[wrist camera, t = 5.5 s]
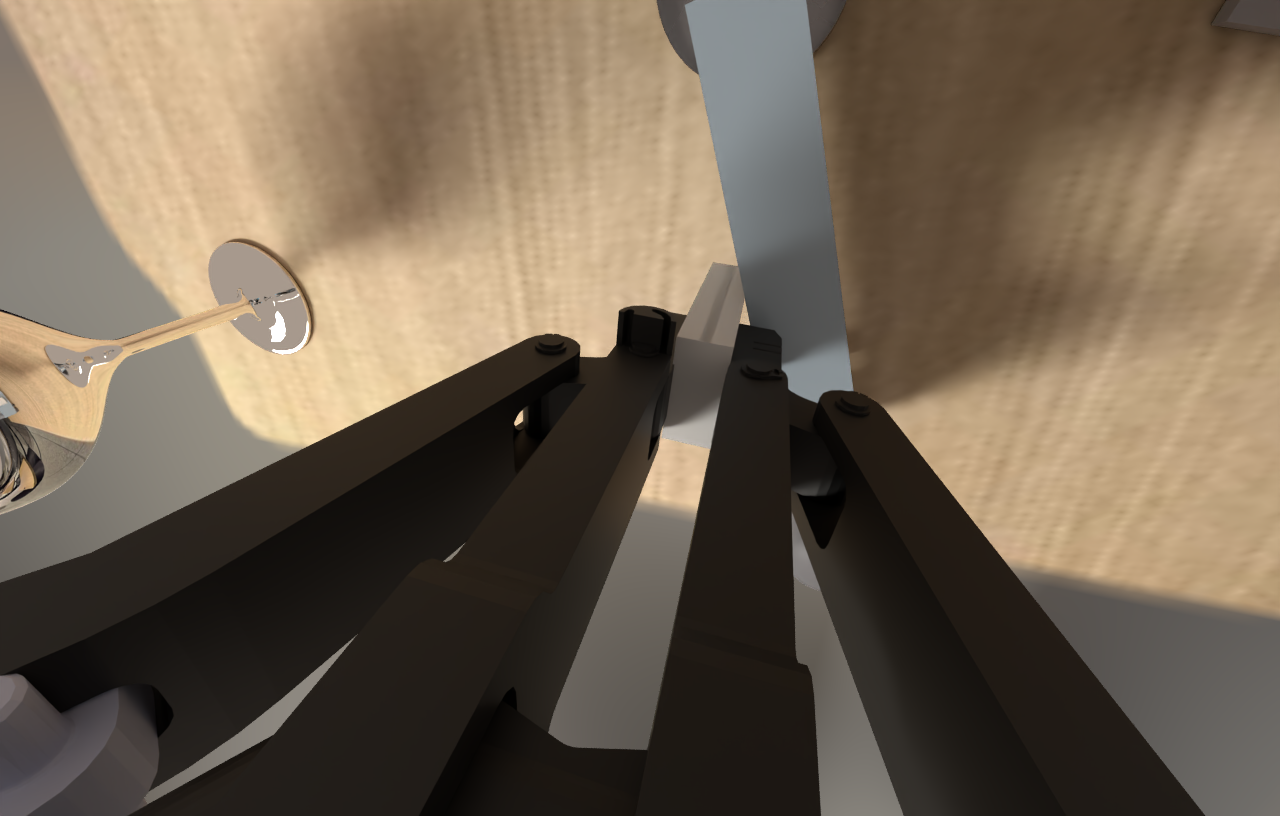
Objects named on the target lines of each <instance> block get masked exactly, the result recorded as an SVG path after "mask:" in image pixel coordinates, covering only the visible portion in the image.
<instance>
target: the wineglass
mask: <svg viewBox="0 0 1280 816" xmlns="http://www.w3.org/2000/svg"><path fill="white" fill-rule="evenodd" d="M209 280H210V284H211V288H212V291H213V293H214V296H215V298H216V300H217V302H218V304H219V306H218V307H215V308H213V309H210V310H207V311H204V312H201V313H198V314H195V315H192V316H189V317H186V318H183V319H180V320H176V321H173V322H170V323H167V324H164V325H161V326H158V327H155V328H151V329H148V330H145V331H142V332H139V333H135V334H132V335H129V336H126V337H122V338H119V339H116V340H98V339H91V338H85V337H81V336H77V335H73V334H70V333H67V332H64V331H61V330H58V329H55V328H52V327H49V326H47V325H44V324H41V323H39V322H36V321H33V320H31V319H28V318H25V317H22V316H19V315H17V314H14V313H11V312H8V311H5V310H2V309H0V515H1V514H4V513H7V512H9V511H12V510H15V509H17V508H20V507H22V506H25V505H27V504H29V503H31V502H34V501H36V500H38V499H40V498H42V497H44V496H46V495H47V494H49V493H51V492H53V491H54V490H56V489H57V488H59V487H60V486H62V485H63V484H64V483H65V482H67V481H68V480H69V479H70V478H71V477H72V476H73V475H74V474H75V473H76V472H77V471H78V470H79V469H80V467H81V466H82V465H83V464H84V462H85V461H86V460H87V458H88V457H89V455H90V454H91V452H92V450H93V448H94V446H95V444H96V442H97V439H98V437H99V434H100V431H101V428H102V424H103V419H104V414H105V407H106V401H107V395H108V389H109V385H110V381H111V378H112V376H113V374H114V371H115V370H116V368H117V367H118V365H119V364H120V363H121V362H122V361H123V360H124V359H125V358H126V357H128V356H131V355H133V354H136V353H138V352H141V351H144V350H146V349H150V348H152V347H155V346H158V345H161V344H164V343H166V342H169V341H172V340H175V339H178V338H180V337H183V336H186V335H189V334H192V333H195V332H198V331H200V330H203V329H206V328H209V327H212V326H215V325H218V324H221V323H224V322H228V321H230V322H231V323H232V324H233V326H234V327H235V328H236V329H237V330H238V331H239V332H240V333H241V334H242V335H243V336H245V337H246V338H247V339H248V340H250V341H251V342H252V343H254V344H255V345H257V346H259V347H260V348H262V349H264V350H267V351H269V352H272V353H276V354H292V353H295V352H297V351H299V350H301V349H302V348H303V347H304V346H305V345H306V344H307V342H308V340H309V338H310V335H311V316H310V311H309V308H308V305H307V302H306V300H305V298H304V295H303V293H302V291H301V290H300V288H299V286H298V285H297V283H296V282H295V280H294V279H293V277H292V276H291V275H290V274H289V272H288V271H287V270H286V269H285V268H284V267H283V266H282V265H281V264H280V263H279V262H278V261H277V260H276V259H274V258H273V257H272V256H271V255H269V254H268V253H266V252H265V251H263V250H261V249H260V248H258V247H255V246H253V245H250V244H247V243H243V242H229V243H225V244H222V245H220V246H219V247H217V248H216V249H215V250H214V252H213V253H212V255H211V257H210V261H209Z"/></svg>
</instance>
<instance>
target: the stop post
mask: <svg viewBox="0 0 1280 816" xmlns="http://www.w3.org/2000/svg"><path fill="white" fill-rule="evenodd" d="M1211 25H1214V26H1220V27H1227V28H1233V29H1239V30H1245V31H1252V32H1258V33H1264V34H1271V35H1277V36H1280V0H1226V2H1225V3H1224V5H1223V6H1222V8H1221V9H1220V11H1219V13H1218V14H1217V16H1216V17H1215V19H1214V21H1213V22H1212V24H1211Z"/></svg>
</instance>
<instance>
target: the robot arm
mask: <svg viewBox="0 0 1280 816" xmlns="http://www.w3.org/2000/svg"><path fill="white" fill-rule="evenodd" d="M744 299H745V296H744V292H743V287H742V282H741V277H740V272H739V267H738V266H733V265H727V264H721V263H715V262H713V264H712V266H711V268H710V270H709V272H708V274H707V276H706V278H705V280H704V282H703V284H702V286H701V288H700V290H699V292H698V294H697V296H696V298H695V300H694V302H693V304H692V306H691V308H690V310H689V312H688V315H682V314H677V313H671V312H668V311H666V310H664V309H660V308H657V307H651V306H630V307H626V308H623V309H621V310H620V311H619V317H618V329H617V342H616V346H615V347H614V348H613V350H612V351H611V352H610V354H609V355H608V356H607V357H597V358H594V357H580V345H579V344H578V343H577V342H576V341H575V340H573V339H571V338H568V337H564V336H561V335H559V334H554V335H553V334H545V335H539V336H534V337H531V338H528V339H526V340H524V341H522V342H520V343H518V344H516V345H514V346H512V347H510V348H508V349H506V350H504V351H502V352H500V353H497V354H495V355H493V356H491V357H489V358H487V359H485V360H483V361H481V362H479V363H477V364H475V365H473V366H471V367H469V368H467V369H465V370H463V371H461V372H459V373H457V374H455V375H453V376H451V377H449V378H447V379H444V380H442V381H440V382H438V383H436V384H434V385H432V386H430V387H428V388H426V389H424V390H422V391H420V392H418V393H416V394H414V395H412V396H410V397H408V398H406V399H404V400H402V401H400V402H398V403H396V404H393V405H391V406H389V407H387V408H385V409H383V410H381V411H379V412H377V413H375V414H373V415H371V416H369V417H367V418H365V419H363V420H361V421H359V422H357V423H355V424H353V425H351V426H349V427H347V428H345V429H343V430H340V431H338V432H336V433H334V434H332V435H330V436H328V437H326V438H324V439H322V440H320V441H318V442H316V443H314V444H312V445H310V446H308V447H306V448H304V449H302V450H300V451H298V452H296V453H294V454H292V455H290V456H287V457H286V458H284V459H281V460H279V461H277V462H275V463H273V464H271V465H269V466H267V467H265V468H263V469H261V470H259V471H257V472H255V473H253V474H251V475H249V476H247V477H245V478H243V479H241V480H238V481H236V482H235V483H233V484H230V485H229V486H226V487H224V488H222V489H220V490H218V491H216V492H214V493H212V494H210V495H208V496H206V497H204V498H202V499H200V500H198V501H196V502H194V503H192V504H190V505H188V506H185V507H183V508H181V509H179V510H177V511H175V512H173V513H171V514H169V515H167V516H165V517H163V518H161V519H159V520H157V521H155V522H153V523H151V524H149V525H147V526H145V527H143V528H141V529H139V530H137V531H134V532H133V533H130V534H128V535H126V536H124V537H122V538H120V539H118V540H117V541H114V542H112V543H110V544H108V545H106V546H104V547H102V548H100V549H98V550H96V551H94V552H92V553H89V554H86V555H83V556H80V557H77V558H74V559H71V560H69V561H65V562H62V563H59V564H56V565H53V566H50V567H47V568H44V569H41V570H38V571H35V572H31V573H28V574H25V575H22V576H19V577H16V578H13V579H10V580H7V581H5V582H1V583H0V816H821V809H820V791H819V774H818V757H817V739H816V723H815V722H816V721H815V704H814V692H813V684H812V676H811V674H810V671H809V669H808V666H807V665H803V664H800V663H798V661H797V658H796V650H795V614H794V579H793V542H792V514H793V516H794V519H795V522H796V524H797V527H798V530H799V533H800V535H801V538H802V541H803V543H804V546H805V549H806V552H807V554H808V557H809V560H810V562H811V565H812V568H813V570H814V573H815V576H816V579H817V581H818V584H819V587H820V589H821V592H822V595H823V598H824V600H825V603H826V606H827V608H828V611H829V614H830V617H831V619H832V622H833V625H834V627H835V630H836V633H837V635H838V638H839V641H840V644H841V646H842V649H843V652H844V654H845V657H846V660H847V663H848V665H849V668H850V671H851V674H852V676H853V679H854V682H855V684H856V687H857V690H858V693H859V695H860V698H861V701H862V703H863V706H864V709H865V712H866V714H867V717H868V720H869V722H870V725H871V728H872V731H873V733H874V736H875V739H876V741H877V744H878V747H879V750H880V752H881V755H882V758H883V760H884V763H885V766H886V768H887V771H888V774H889V776H890V779H891V782H892V785H893V788H894V790H895V793H896V796H897V798H898V801H899V804H900V806H901V809H902V812H903V815H904V816H1205V815H1204V814H1203V812H1202V811H1201V810H1200V809H1199V807H1198V806H1197V805H1196V803H1195V802H1194V801H1193V799H1192V798H1191V797H1190V796H1189V794H1188V793H1187V792H1186V791H1185V789H1184V788H1183V787H1182V786H1181V784H1180V783H1179V782H1178V780H1177V779H1176V778H1175V777H1174V775H1173V774H1172V773H1171V772H1170V770H1169V769H1168V768H1167V767H1166V765H1165V764H1164V763H1163V761H1162V760H1161V759H1160V758H1159V756H1158V755H1157V754H1156V753H1155V751H1154V750H1153V749H1152V748H1151V746H1150V745H1149V744H1148V743H1147V741H1146V740H1145V739H1144V737H1143V736H1142V735H1141V734H1140V732H1139V731H1138V730H1137V728H1136V727H1135V726H1134V725H1133V724H1132V722H1131V721H1130V720H1129V718H1128V717H1127V716H1126V715H1125V713H1124V712H1123V711H1122V709H1121V708H1120V707H1119V706H1118V704H1117V703H1116V702H1115V701H1114V699H1113V698H1112V697H1111V696H1110V694H1109V693H1108V692H1107V690H1106V689H1105V688H1104V687H1103V685H1102V684H1101V683H1100V682H1099V680H1098V679H1097V678H1096V677H1095V675H1094V674H1093V673H1092V671H1091V670H1090V669H1089V668H1088V666H1087V665H1086V664H1085V663H1084V661H1083V660H1082V659H1081V657H1080V656H1079V655H1078V654H1077V652H1076V651H1075V650H1074V649H1073V647H1072V646H1071V645H1070V644H1069V643H1068V641H1067V640H1066V638H1065V637H1064V636H1063V635H1062V634H1061V632H1060V631H1059V630H1058V628H1057V627H1056V626H1055V625H1054V623H1053V622H1052V621H1051V619H1050V618H1049V617H1048V616H1047V614H1046V613H1045V612H1044V611H1043V609H1042V608H1041V607H1040V605H1039V604H1038V603H1037V602H1036V600H1035V599H1034V598H1033V597H1032V595H1031V594H1030V593H1029V592H1028V590H1027V589H1026V588H1025V586H1024V585H1023V584H1022V583H1021V581H1020V580H1019V579H1018V578H1017V576H1016V575H1015V574H1014V573H1013V571H1012V570H1011V569H1010V567H1009V566H1008V565H1007V564H1006V562H1005V561H1004V560H1003V559H1002V557H1001V556H1000V555H999V554H998V552H997V551H996V550H995V548H994V547H993V546H992V545H991V543H990V542H989V541H988V540H987V538H986V537H985V536H984V534H983V533H982V532H981V531H980V529H979V528H978V527H977V526H976V524H975V523H974V522H973V521H972V519H971V518H970V517H969V515H968V514H967V513H966V512H965V510H964V509H963V508H962V507H961V505H960V504H959V503H958V502H957V500H956V499H955V498H954V496H953V495H952V494H951V493H950V491H949V490H948V489H947V488H946V486H945V485H944V484H943V482H942V481H941V480H940V479H939V477H938V476H937V475H936V474H935V472H934V471H933V470H932V469H931V467H930V466H929V465H928V463H927V462H926V461H925V460H924V458H923V457H922V456H921V455H920V453H919V452H918V451H917V450H916V448H915V447H914V446H913V444H912V443H911V442H910V441H909V439H908V438H907V437H906V436H905V434H904V433H903V432H902V431H901V429H900V428H899V427H898V425H897V424H896V423H895V422H894V420H893V419H892V418H891V417H890V415H889V414H888V413H887V411H886V410H885V409H884V408H883V407H882V406H881V405H880V404H878V403H877V402H876V401H874V400H872V399H870V398H868V397H867V396H866V395H864V394H861V393H860V394H858V392H855V391H844V390H830V391H827V392H824V393H823V394H822V395H821V396H820V398H819V401H818V403H816V402H813V401H811V400H808V399H805V398H803V397H801V396H799V395H797V394H795V393H793V392H792V391H790V390H789V389H788V377H787V375H786V373H785V372H784V371H783V370H782V355H781V354H782V338H781V337H780V336H779V335H778V334H777V332H776V331H775V330H771V329H766V328H760V327H755V326H749V325H744V324H739V322H740V317H741V312H742V308H743V303H744ZM522 410H523V422H521V423H520V424H518V425H517V426H515V425H514V422H515V420H516V418H517V416H518V414H519V413H520V412H521V411H522ZM663 425H664V426H663ZM662 427H663V432H662V438H665V439H669V440H674V441H678V442H682V443H686V444H691V445H695V446H700V447H704V448H709V449H710V454H709V458H708V463H707V468H706V472H705V477H704V482H703V487H702V492H701V496H700V501H699V506H698V511H697V515H696V520H695V525H694V530H693V535H692V539H691V544H690V549H689V553H688V558H687V563H686V568H685V572H684V577H683V583H682V587H681V591H680V596H679V601H678V606H677V610H676V615H675V620H674V625H673V629H672V634H671V639H670V644H669V648H668V653H667V658H666V663H665V667H664V672H663V677H662V682H661V687H660V691H659V696H658V701H657V706H656V710H655V715H654V720H653V725H652V729H651V734H650V739H649V744H648V748H647V750H630V749H629V750H628V749H599V748H598V749H597V748H575V747H571V746H567V745H565V744H563V743H562V742H560V741H559V740H557V739H556V738H554V737H553V736H552V735H550V734H549V733H548V731H549V727H550V723H551V719H552V716H553V713H554V710H555V707H556V705H557V702H558V699H559V697H560V694H561V692H562V689H563V687H564V684H565V682H566V679H567V677H568V674H569V671H570V669H571V667H572V664H573V661H574V659H575V656H576V654H577V652H578V649H579V647H580V644H581V642H582V639H583V637H584V634H585V632H586V629H587V626H588V624H589V621H590V619H591V616H592V614H593V611H594V609H595V606H596V604H597V601H598V599H599V596H600V594H601V591H602V589H603V586H604V584H605V581H606V579H607V576H608V574H609V571H610V568H611V566H612V564H613V561H614V559H615V556H616V554H617V551H618V549H619V546H620V544H621V540H622V538H623V536H624V534H625V531H626V528H627V526H628V523H629V521H630V518H631V516H632V513H633V511H634V508H635V506H636V503H637V501H638V498H639V496H640V493H641V491H642V488H643V486H644V483H645V481H646V478H647V476H648V473H649V471H650V468H651V466H652V463H653V461H654V458H655V456H656V453H657V451H658V446H659V440H660V433H661V430H662ZM465 542H466V543H465ZM464 543H465V544H464ZM463 544H464V545H463ZM462 545H463V547H462V548H461V549H460V551H459V552H458V553H457V554H456V555H455V556H454V557H453V558H452V559H451V560H450V561H447V562H443V561H444V560H445V559H446V558H448V557H449V556H450V555H451V554H452V553H453V552H455V551H456V550H457V549H458V548H459V547H461V546H462ZM357 634H358V635H357ZM356 635H357V636H356ZM355 636H356V637H355ZM354 637H355V638H354ZM352 638H354V640H353V641H352V642H351V643H350V644H349V645H348V647H347V648H346V649H345V650H344V652H343V653H342V654H341V655H340V656H339V657H338V659H337V660H336V661H335V662H334V664H333V665H332V666H331V667H330V668H329V669H328V671H327V672H326V673H325V674H324V675H323V677H322V678H321V679H320V680H319V681H318V683H317V684H316V685H315V686H314V687H313V689H312V690H311V691H310V692H309V693H308V695H307V696H306V697H305V698H304V699H303V701H302V702H301V703H300V704H299V705H298V707H297V708H296V709H295V710H294V711H293V712H292V714H291V715H290V716H289V717H288V718H287V720H286V721H285V722H284V723H283V725H282V726H281V727H280V728H279V729H278V730H277V732H276V733H275V734H274V735H272V736H271V737H269V738H267V739H265V740H263V741H262V742H260V743H258V744H256V745H254V746H252V747H251V748H249V749H247V750H245V751H244V752H242V753H240V754H238V755H237V756H235V757H233V758H231V759H229V760H227V761H225V762H224V763H222V764H220V765H218V766H216V767H214V768H213V769H211V770H209V771H207V772H206V773H204V774H202V775H200V776H198V777H196V778H195V779H193V780H191V781H189V782H187V783H185V784H184V785H182V786H180V787H178V788H177V789H175V790H173V791H171V792H169V793H167V794H166V795H164V796H162V797H160V798H158V799H157V800H155V801H153V802H151V803H149V804H147V802H146V801H145V799H144V797H145V796H146V794H147V793H148V792H149V791H150V790H152V789H154V788H155V787H157V786H159V785H160V784H162V783H164V782H165V781H167V780H168V779H170V778H172V777H174V776H175V775H177V774H179V773H180V772H182V771H184V770H185V769H187V768H188V767H190V766H191V765H193V764H194V763H196V762H197V761H199V760H200V759H202V758H203V757H205V756H206V755H207V754H209V753H210V752H212V751H213V750H215V749H216V748H217V747H219V746H220V745H222V744H223V743H225V742H226V741H228V740H229V739H231V738H232V737H233V736H235V735H236V734H238V733H239V732H240V731H242V730H243V729H244V728H245V727H247V726H248V725H249V724H250V723H252V722H253V721H254V720H256V719H257V718H258V717H259V716H261V715H262V714H263V713H264V712H265V711H267V710H268V709H269V708H271V707H272V706H273V705H274V704H276V703H277V702H278V701H279V700H281V699H282V698H283V697H284V696H285V695H287V694H288V693H289V692H290V691H291V690H292V689H293V688H295V687H296V686H297V685H298V684H299V683H301V682H302V681H303V680H304V679H305V678H307V677H308V676H309V675H310V674H311V673H312V672H314V671H315V670H316V669H317V668H318V667H319V666H321V665H322V664H323V663H324V662H325V661H326V660H328V659H329V658H330V657H331V656H332V655H333V654H335V653H336V652H337V651H338V650H339V649H341V648H342V647H343V646H344V645H345V644H346V643H348V642H349V641H350V640H351V639H352Z"/></svg>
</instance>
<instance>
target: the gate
mask: <svg viewBox="0 0 1280 816" xmlns="http://www.w3.org/2000/svg"><path fill="white" fill-rule="evenodd" d="M685 8H686V13H687V18H688V23H689V28H690V33H691V38H692V43H693V47H694V52H695V57H696V62H697V67H698V72H699V77H700V82H701V87H702V91H703V96H704V101H705V106H706V111H707V116H708V121H709V126H710V130H711V135H712V140H713V145H714V150H715V155H716V160H717V165H718V170H719V174H720V179H721V184H722V189H723V194H724V199H725V204H726V209H727V213H728V218H729V223H730V228H731V233H732V238H733V243H734V248H735V253H736V257H737V262H738V267H739V272H740V277H741V282H742V287H743V292H744V296H745V301H746V306H747V311H748V316H749V321H750V326H755V327H760V328H766V329H771V330H775V331H776V332H777V334H778V335H779V336H780V337H781V338H782V354H781V355H782V370H783V371H784V372H785V373H786V375H787V377H788V389H789V390H790V391H792V392H793V393H795V394H797V395H799V396H801V397H803V398H805V399H808V400H811V401H813V402H816V403H818V401H819V398H820V396H821V395H822V394H823V393H824V392H827V391H830V390H844V391H853V384H852V375H851V367H850V359H849V351H848V342H847V334H846V326H845V317H844V309H843V301H842V293H841V284H840V276H839V268H838V259H837V251H836V243H835V235H834V226H833V218H832V210H831V201H830V193H829V185H828V177H827V168H826V160H825V152H824V144H823V135H822V127H821V119H820V110H819V102H818V94H817V86H816V77H815V69H814V61H813V52H812V44H811V36H810V28H809V19H808V11H807V3H806V0H695V1H692V2H690V3H688V4H686V5H685ZM792 542H793V576H794V577H795V578H796V579H797V580H799V581H800V582H801V583H803V584H804V585H806V586H808V587H810V588H812V589H815V590H818V591H821V589H820V587H819V584H818V581H817V579H816V576H815V573H814V570H813V568H812V565H811V562H810V560H809V557H808V554H807V552H806V549H805V546H804V543H803V541H802V538H801V535H800V533H799V530H798V527H797V524H796V522H795V519H794V516H793V514H792Z"/></svg>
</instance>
